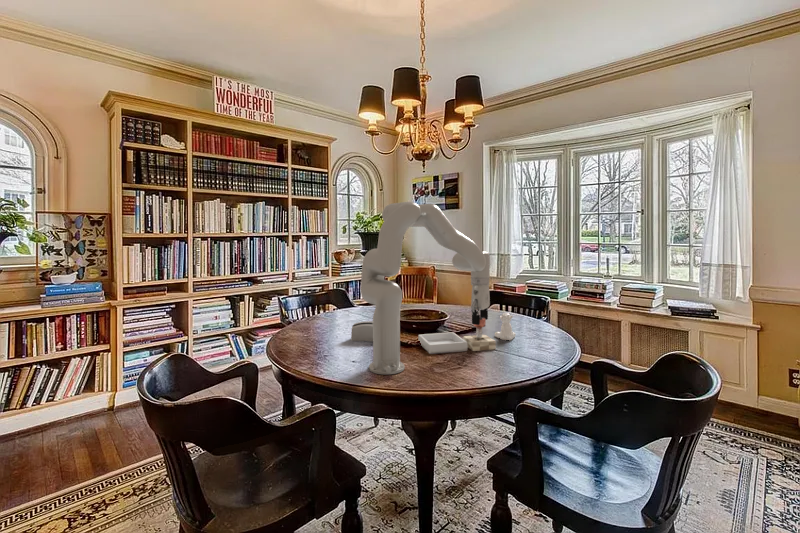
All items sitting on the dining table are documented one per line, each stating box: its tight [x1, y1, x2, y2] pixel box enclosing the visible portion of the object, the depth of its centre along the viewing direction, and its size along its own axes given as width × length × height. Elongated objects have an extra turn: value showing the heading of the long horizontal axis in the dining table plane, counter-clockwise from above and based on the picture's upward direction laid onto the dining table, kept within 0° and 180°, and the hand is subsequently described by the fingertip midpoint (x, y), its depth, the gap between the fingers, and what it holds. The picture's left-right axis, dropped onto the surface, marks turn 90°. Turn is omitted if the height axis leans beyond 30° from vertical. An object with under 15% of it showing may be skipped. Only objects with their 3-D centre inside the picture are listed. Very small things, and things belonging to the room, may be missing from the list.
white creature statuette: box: [494, 312, 516, 341], centre depth 178 cm, size 10×9×12 cm
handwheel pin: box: [472, 317, 486, 340], centre depth 166 cm, size 5×5×12 cm
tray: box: [418, 331, 468, 355], centre depth 167 cm, size 16×16×4 cm
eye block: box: [462, 334, 497, 352], centre depth 167 cm, size 10×10×4 cm
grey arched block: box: [350, 320, 373, 342], centre depth 177 cm, size 17×5×10 cm, turn 85°
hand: (480, 321), depth 166 cm, fingers open, 9 cm apart
